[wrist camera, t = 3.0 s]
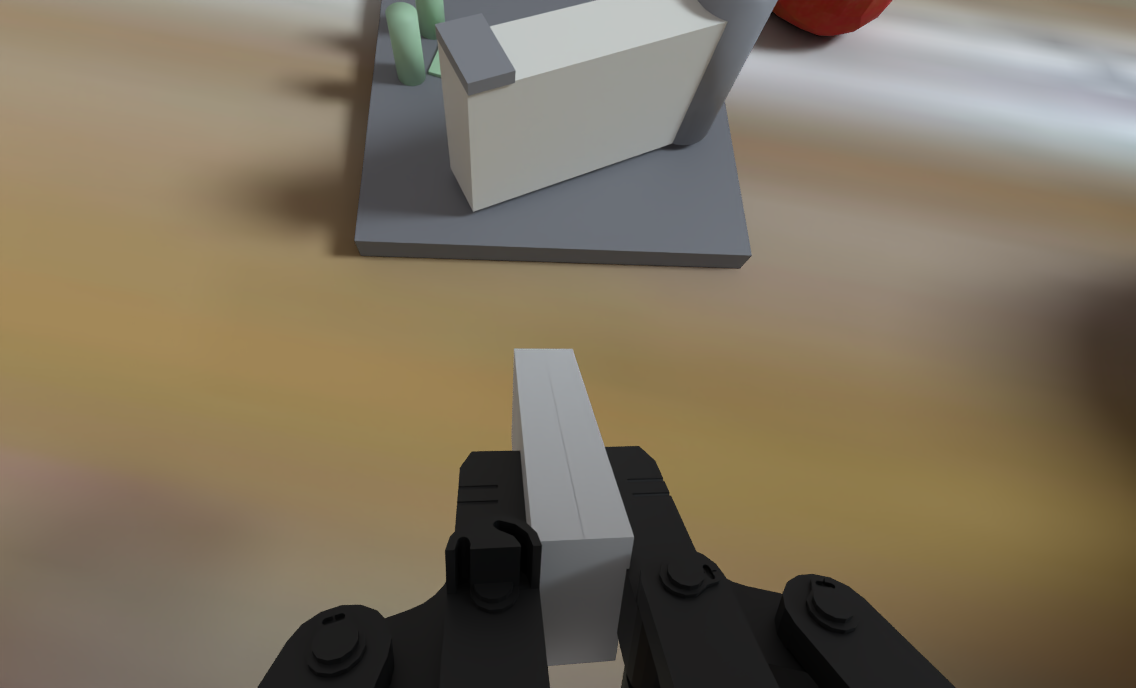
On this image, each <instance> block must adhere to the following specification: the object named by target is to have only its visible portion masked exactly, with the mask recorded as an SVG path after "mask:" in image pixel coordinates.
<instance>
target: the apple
mask: <svg viewBox="0 0 1136 688" xmlns="http://www.w3.org/2000/svg"><path fill="white" fill-rule="evenodd" d="M891 1H892V0H778V1H777V3H776V5H775V7H774V8H773V10H772V12H774V13H775V14H776V15H777V16H779V17H780V18H782V19H784V20H786V21H788V22H789V23H791V24H793V25H795V26H796V27H798V28H800V29H803V30H805V31H808V32H810V33H813V34H816V35H819V36H834V35H839V34H844V33H849V32H854V31H855V30H857V29H859V28H860V27H862V26H864V25H865V24H867V23H869V22H870V21H872V20H874V19H875V18H877V17H878V16H879V15H880V14H881V13H882V12H883V10H884V9H885V8H886V7H887V6H888V5H889V4H890V3H891Z"/></svg>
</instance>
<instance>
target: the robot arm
mask: <svg viewBox="0 0 1136 688" xmlns="http://www.w3.org/2000/svg"><path fill="white" fill-rule="evenodd" d="M445 560H446V583H445V584H444V586H443V587H442V588H441V589H440V590H439V591H438V592H437V593H436V594H435V595H434V596H433V597H432V598H430V599H429V600H427V601H426V602H425V603H423V604H421V605H419V606H417V607H414V608H412V609H410V610H407V611H405V612H402V613H399V614H396V615H393V616H390V617H387V618H384V617H383V616H382V615H381V614H380V613H379V612H378V611H377V610H374V609H371V608H369V607H366V606H363V605H341V606H338V607H335V608H332V609H329V610H326V611H323V612H320V613H319V614H317V615H316V616H314V617H313V618H311V619H310V620H308V621H306V622H305V623H303V624H302V625H301V626H300V627H299V628H298V629H297V631H296V632H295V633H294V634H293V635H292V636H291V637H290V639H289V640H288V641H287V642H286V644H285V645H284V647H283V649H282V650H281V652H280V653H279V655H278V656H277V658H276V659H275V661H274V663H273V664H272V666H271V667H270V669H269V670H268V672H267V673H266V675H265V677H264V678H263V680H262V681H261V683H260V684H259V686H258V688H550V684H549V675H548V666H553V665H565V664H577V663H590V662H602V661H614V660H615V659H616V653H617V646H618V639H619V644H620V648H621V652H622V656H623V661H624V665H625V667H624V673H623V680H622V686H621V688H955V687H954V686H953V685H952V684H951V683H950V682H949V681H948V680H947V679H946V678H945V677H944V676H943V675H942V674H941V673H940V672H939V671H938V670H937V669H936V668H935V667H934V666H933V665H932V664H931V663H930V662H929V661H928V660H927V659H926V658H925V657H924V656H923V655H922V654H921V653H919V652H918V651H917V650H916V649H915V648H914V647H913V646H912V645H911V644H910V643H909V642H908V641H907V640H906V639H905V638H904V637H903V636H902V635H901V634H900V633H899V632H898V631H897V630H896V629H895V628H894V627H893V626H892V625H891V624H890V623H889V622H888V621H887V620H886V619H885V618H884V617H883V616H882V615H881V614H879V613H878V612H877V611H876V610H875V609H874V608H873V607H872V606H871V605H870V604H869V603H868V602H867V601H866V600H865V599H864V598H863V597H862V596H860V595H859V594H858V593H856V592H855V591H854V590H852V589H851V588H850V587H849V586H847V585H845V584H843V583H840V582H838V581H836V580H834V579H832V578H830V577H825V576H820V575H815V574H807V575H798V576H796V577H795V578H793V579H791V580H790V581H788V582H787V584H786V586H785V589H784V591H783V594H781V593H776V592H771V591H767V590H762V589H757V588H753V587H748V586H745V585H741V584H738V583H735V582H732V581H730V580H728V579H726V577H725V576H724V574H723V573H722V571H721V570H720V569H719V567H718V566H717V565H716V564H715V563H714V562H713V561H711V560H710V559H709V558H707V557H706V556H705V555H703V554H701V553H699V552H697V551H696V550H695V548H694V545H693V543H692V541H691V539H690V537H689V534H688V532H687V530H686V528H685V526H684V523H683V521H682V519H681V517H680V515H679V512H678V510H677V508H676V506H675V504H674V501H673V499H672V497H671V496H670V495H669V490H668V488H667V486H666V484H665V481H663V477H662V475H661V473H660V470H659V468H658V466H657V464H656V462H655V460H654V459H653V458H652V457H650V456H649V455H648V454H647V453H646V452H645V451H644V450H643V449H642V448H640V447H639V446H625V447H604V443H603V440H602V437H601V434H600V431H599V428H598V425H597V422H596V419H595V416H594V413H593V410H592V407H591V404H590V401H589V398H588V395H587V392H586V389H585V386H584V383H583V379H582V376H581V373H580V370H579V367H578V364H577V361H576V358H575V355H574V352H573V349H514V372H513V408H512V451H479V452H471V453H470V455H469V456H468V457H467V459H466V460H465V462H464V463H463V464H462V466H461V467H460V474H459V489H458V499H457V512H456V525H455V532H454V533H453V534H452V535H451V536H450V538H449V541H448V544H447V547H446V550H445Z"/></svg>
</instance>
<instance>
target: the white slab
mask: <svg viewBox="0 0 1136 688" xmlns="http://www.w3.org/2000/svg"><path fill="white" fill-rule="evenodd" d="M777 1H778V0H596V1H591V2H587V3H583V4H579V5H575V6H571V7H567V8H563V9H559V10H555V11H551V12H547V13H542V14H538V15H534V16H530V17H526V18H522V19H518V20H514V21H510V22H506V23H502V24H498V25H493V26H489V24H488V23H487V21H486V19H485V18H484V16H483V14H482V13H480V14H476V15H472V16H467V17H463V18H459V19H455V20H451V21H446V22H442V23H438V24H435V30H436V38H437V42H438V51H439V61H440V71H441V80H442V90H443V100H444V109H445V119H446V128H447V138H448V148H449V157H450V167H451V170H452V172H453V174H454V175H455V177H456V179H457V181H458V183H459V185H460V187H461V189H462V191H463V193H464V195H465V197H466V199H467V201H468V203H469V205H470V207H471V209H472V210H473V212H474V211H477V210H480V209H483V208H486V207H489V206H492V205H494V204H497V203H500V202H503V201H506V200H509V199H512V198H515V197H518V196H521V195H524V194H526V193H529V192H532V191H535V190H538V189H541V188H544V187H547V186H550V185H553V184H556V183H559V182H561V181H564V180H567V179H570V178H573V177H576V176H579V175H582V174H585V173H588V172H591V171H593V170H596V169H599V168H602V167H605V166H608V165H611V164H614V163H617V162H620V161H623V160H625V159H628V158H631V157H634V156H637V155H640V154H643V153H646V152H649V151H652V150H655V149H657V148H660V147H663V146H666V145H669V144H672V143H673V144H677V145H691V144H695V143H697V142H699V141H701V140H702V139H703V138H704V137H705V136H706V135H707V133H708V131H709V129H710V127H711V126H712V124H713V122H714V120H715V118H716V116H717V114H718V112H719V110H720V109H721V107H722V105H723V103H724V101H725V99H726V97H727V95H728V93H729V92H730V90H731V88H732V86H733V84H734V82H735V80H736V78H737V76H738V75H739V73H740V71H741V69H742V67H743V65H744V63H745V61H746V59H747V58H748V56H749V54H750V52H751V50H752V48H753V46H754V44H755V42H756V41H757V39H758V37H759V35H760V33H761V31H762V29H763V27H764V25H765V24H766V22H767V20H768V18H769V16H770V14H771V12H772V10H773V8H774V7H775V5H776V3H777Z"/></svg>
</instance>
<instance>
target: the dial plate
mask: <svg viewBox="0 0 1136 688" xmlns="http://www.w3.org/2000/svg"><path fill="white" fill-rule="evenodd" d="M591 1H596V0H382V2H381V11H380V20H379V29H378V38H377V46H376V55H375V64H374V73H373V82H372V90H371V99H370V108H369V117H368V126H367V134H366V143H365V152H364V161H363V170H362V179H361V187H360V196H359V205H358V214H357V223H356V231H355V240H354V241H355V243H356V246H357V248H358V250H359V252H360V255H361V256H388V257H419V258H449V259H479V260H509V261H540V262H570V263H600V264H630V265H661V266H691V267H721V268H741V267H742V266H743V265H744V263H745V262H746V261H747V260H748V259H749V258H750V257H751V256H752V254H751V249H750V243H749V237H748V232H747V226H746V220H745V215H744V209H743V203H742V198H741V192H740V186H739V180H738V175H737V169H736V163H735V158H734V152H733V146H732V141H731V135H730V129H729V124H728V118H727V112H726V106H725V101H724V103H723V105H722V107H721V109H720V110H719V112H718V114H717V116H716V118H715V120H714V122H713V124H712V126H711V127H710V129H709V131H708V133H707V135H706V136H705V137H704V138H703V139H702V140H701V141H699V142H697V143H695V144H691V145H677V144H673V143H672V144H669V145H666V146H663V147H660V148H657V149H655V150H652V151H649V152H646V153H643V154H640V155H637V156H634V157H631V158H628V159H625V160H623V161H620V162H617V163H614V164H611V165H608V166H605V167H602V168H599V169H596V170H593V171H591V172H588V173H585V174H582V175H579V176H576V177H573V178H570V179H567V180H564V181H561V182H559V183H556V184H553V185H550V186H547V187H544V188H541V189H538V190H535V191H532V192H529V193H526V194H524V195H521V196H518V197H515V198H512V199H509V200H506V201H503V202H500V203H497V204H494V205H492V206H489V207H486V208H483V209H480V210H477V211H474V212H473V210H472V209H471V207H470V205H469V203H468V201H467V199H466V197H465V195H464V193H463V191H462V189H461V187H460V185H459V183H458V181H457V179H456V177H455V175H454V174H453V172H452V170H451V167H450V157H449V148H448V138H447V128H446V119H445V109H444V100H443V90H442V80H441V71H440V61H439V51H438V42H437V38H436V30H435V24H438V23H442V22H446V21H451V20H455V19H459V18H463V17H467V16H472V15H476V14H480V13H482V14H483V16H484V18H485V19H486V21H487V23H488V24H489V26H493V25H498V24H502V23H506V22H510V21H514V20H518V19H522V18H526V17H530V16H534V15H538V14H542V13H547V12H551V11H555V10H559V9H563V8H567V7H571V6H575V5H579V4H583V3H587V2H591Z"/></svg>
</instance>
